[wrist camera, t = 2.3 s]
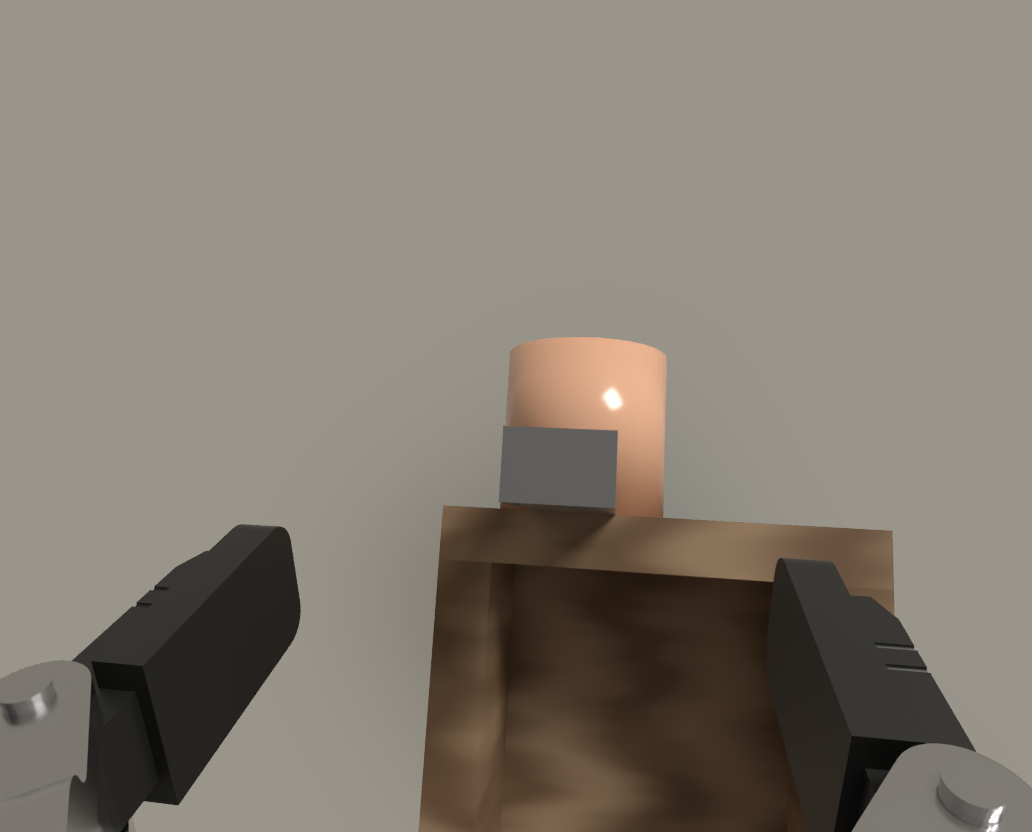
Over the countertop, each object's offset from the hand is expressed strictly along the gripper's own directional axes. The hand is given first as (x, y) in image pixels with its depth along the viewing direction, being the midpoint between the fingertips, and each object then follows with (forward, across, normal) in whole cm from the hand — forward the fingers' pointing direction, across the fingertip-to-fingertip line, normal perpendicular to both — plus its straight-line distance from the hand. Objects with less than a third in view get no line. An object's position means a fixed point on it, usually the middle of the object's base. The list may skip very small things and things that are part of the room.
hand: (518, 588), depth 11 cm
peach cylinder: (+13, 0, +6) cm, 14 cm away
